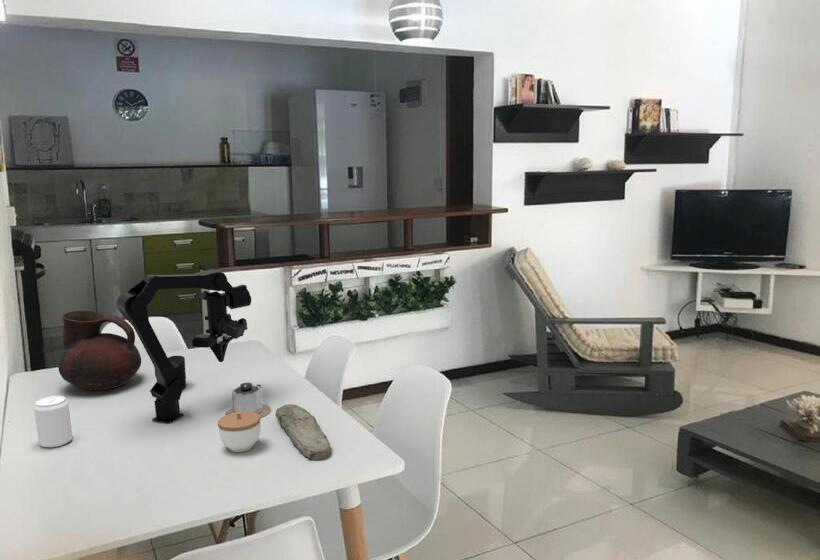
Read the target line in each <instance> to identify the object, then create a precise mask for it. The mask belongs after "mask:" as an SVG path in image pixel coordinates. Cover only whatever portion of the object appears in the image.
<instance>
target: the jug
mask: <svg viewBox="0 0 820 560" xmlns="http://www.w3.org/2000/svg"><path fill="white" fill-rule="evenodd" d="M61 318H62V320H63V328H62V342H63V347H64V350H63V352H62V354H61V355H60V358H59V361H58V372H59V375H60V376H61V378H62V379H63V380H64V381H65V382H67V383H69V384H71V385H72V386H74V387H76V388H77V389H78V388H79V389H82V390H85V391H86V390H87V391H103V390H110V389H113V388H117V387H119V386H121V385H123V384H126V383H127V382H129V381H130V380H131V379H132V378H133V377H134V376H135V375H136V374H137V373H138V371H140V368H141V366H142V356H141V354H140V352H139V350H138V347H137V346H136V345H135V344H136V343H135V342H136V335H135V334H136V333H135V329H134V327H133V326H132V325H131V324H129V322H127V320H125V319H123V318H121V317H120V316H118V315H105V314H103V313H101V312H95V311H92V310H73V311H69V312H66V313H63V314H62V315H61ZM105 322H108V323H112V324H115V325H116V326H118V327H119V328H120V329H122V330H123V332H125V335H126V337H127V338H126V337H125V336H122V335H119V334H115V333H109V332H108V333H107V332H103V333H102V332H100V330H101V327H102V325H103V323H105Z"/></svg>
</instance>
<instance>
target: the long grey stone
mask: <svg viewBox="0 0 820 560" xmlns="http://www.w3.org/2000/svg"><path fill="white" fill-rule="evenodd" d="M275 417H276V418H277V421H278V423H279V424H280V425H281V429H283V431H285V432H286V433H285V434H287V435H288V436H289V439H290V440H291V443H293V445H294V446H296V448H297V449H298V451H299V452H300V453H301V454H302V455H303V456H304V457H306V458H308V459H310V460H312V461H320V460H325V459H327V458H329V457H330V455H331V446H330V445H331V443H330V441H329V440H328V439H327V435H326V434H325V433H324V431H323V430H322V428H321V426H320V425H319V424H318V422H317V418H316V417H315V416H314V415H312V414H311V412H309V411H308V410H307V409H305V408H303V407H302V406H299V405H298V404H290V403H289V404H283V405H281V406H279V407H278V408H276V411H275Z"/></svg>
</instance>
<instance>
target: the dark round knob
mask: <svg viewBox="0 0 820 560" xmlns="http://www.w3.org/2000/svg"><path fill="white" fill-rule="evenodd" d="M252 385H253V383H252V382H243V383H240V384H239V387H240V389H241V391H243V392H245V394H248V391H251V390H252Z"/></svg>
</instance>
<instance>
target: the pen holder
mask: <svg viewBox="0 0 820 560" xmlns="http://www.w3.org/2000/svg"><path fill="white" fill-rule="evenodd" d="M167 357H168V359H169V361H170V362H173V363H175V364H177V365H179V366H180V367H181V369H182V372H183V374H184V375H185V376H186V373H187V372H186V360H185V359H186V358H185V356H182V355H171V356H167ZM186 378H187V376H186ZM186 378H184V379H185V381H186V382H187V379H186ZM186 387H187V384H186V385H185V387H184V389H183V390H182V391H184V390H185V389H186Z"/></svg>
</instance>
